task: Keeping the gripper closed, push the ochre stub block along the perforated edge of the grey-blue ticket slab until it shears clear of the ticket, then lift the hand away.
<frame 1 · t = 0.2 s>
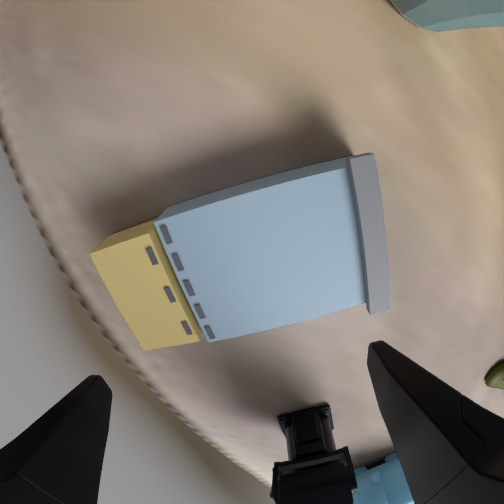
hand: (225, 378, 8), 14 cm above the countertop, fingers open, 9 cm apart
stub: (150, 288, 21), point 2 cm above the countertop, slide at 0.0 cm
ticket: (278, 242, 22), on the countertop
teapot: (380, 466, 43), on the countertop
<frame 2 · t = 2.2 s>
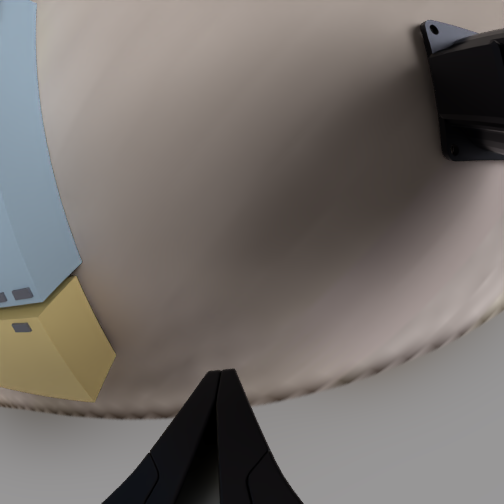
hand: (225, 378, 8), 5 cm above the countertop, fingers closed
stub: (26, 341, 11), point 2 cm above the countertop, slide at 0.0 cm
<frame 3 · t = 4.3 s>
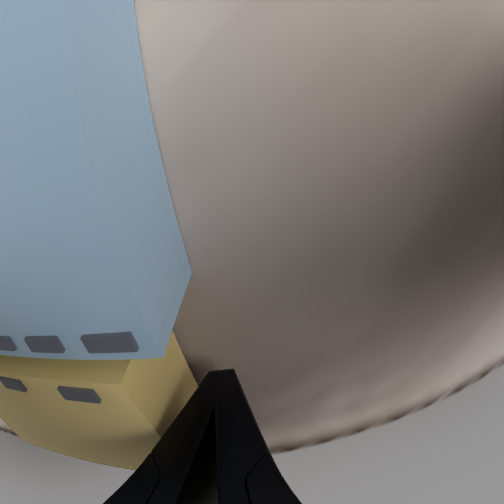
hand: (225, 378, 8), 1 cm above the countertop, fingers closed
stub: (67, 391, 8), point 2 cm above the countertop, slide at 0.7 cm, touching gripper
ticket: (10, 103, 6), on the countertop
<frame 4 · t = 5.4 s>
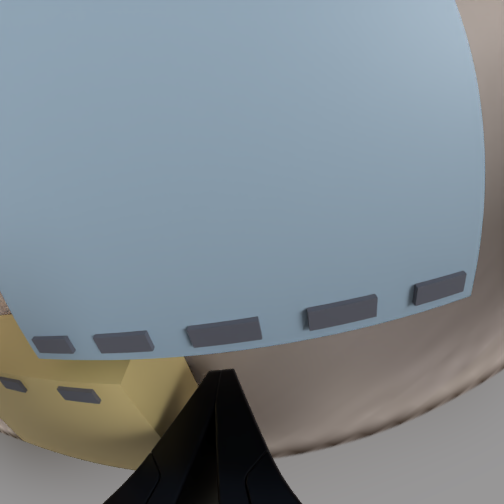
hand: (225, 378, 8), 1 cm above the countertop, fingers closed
stub: (67, 392, 8), point 2 cm above the countertop, slide at 7.0 cm, touching gripper
ticket: (185, 19, 5), on the countertop
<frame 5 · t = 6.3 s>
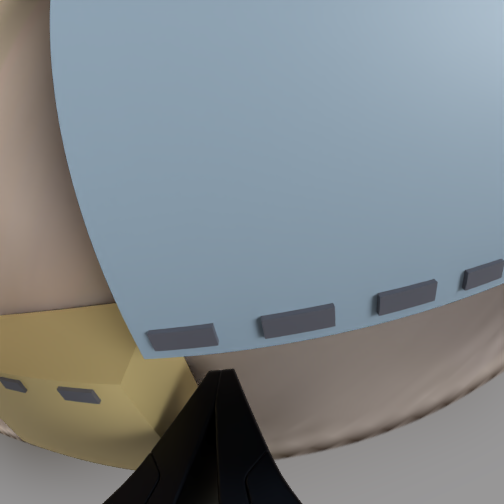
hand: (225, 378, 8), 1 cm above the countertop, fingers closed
stub: (67, 392, 8), point 2 cm above the countertop, slide at 10.3 cm, touching gripper
ticket: (309, 2, 5), on the countertop
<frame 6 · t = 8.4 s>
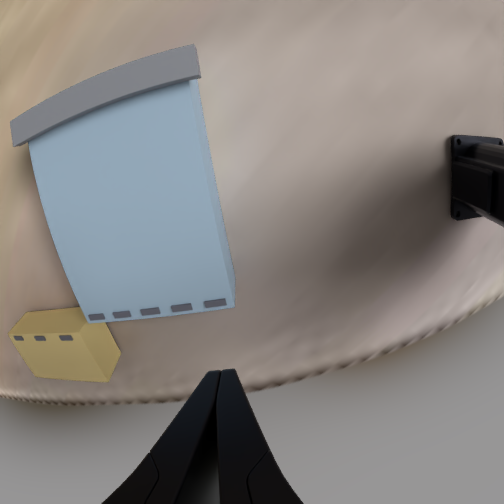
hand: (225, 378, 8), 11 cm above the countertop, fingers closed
stub: (61, 345, 19), point 2 cm above the countertop, slide at 10.5 cm
ticket: (137, 191, 17), on the countertop
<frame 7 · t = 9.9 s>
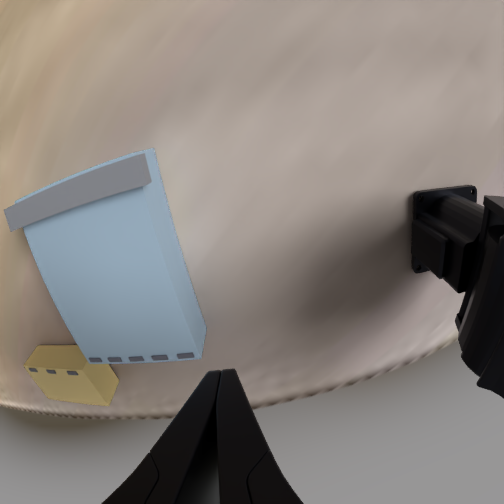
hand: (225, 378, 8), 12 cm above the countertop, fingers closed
stub: (69, 375, 22), point 2 cm above the countertop, slide at 10.5 cm
ticket: (119, 260, 20), on the countertop
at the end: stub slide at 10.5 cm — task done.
